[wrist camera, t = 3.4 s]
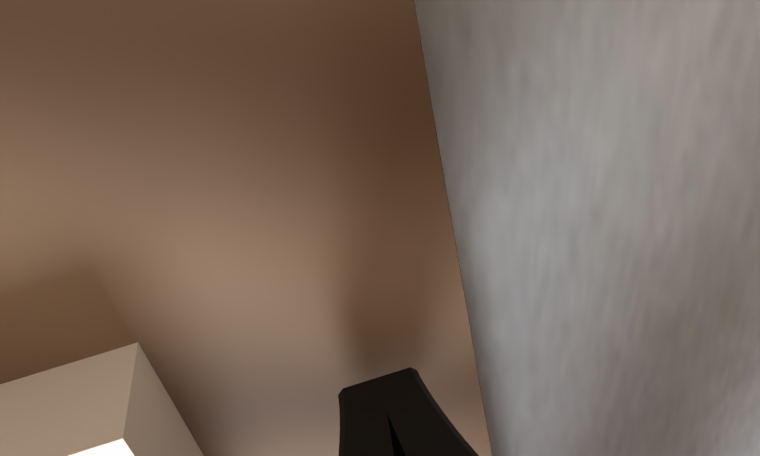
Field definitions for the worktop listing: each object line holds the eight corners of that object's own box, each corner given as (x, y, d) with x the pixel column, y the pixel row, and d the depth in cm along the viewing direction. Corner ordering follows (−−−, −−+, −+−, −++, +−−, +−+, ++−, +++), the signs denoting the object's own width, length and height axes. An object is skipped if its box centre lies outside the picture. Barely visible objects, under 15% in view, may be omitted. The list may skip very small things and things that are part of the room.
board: (493, 523, 17) (510, 564, 16) (27, 683, 16) (14, 737, 15) (373, -119, 9) (393, -115, 8) (-636, 142, 8) (-762, 187, 7)
